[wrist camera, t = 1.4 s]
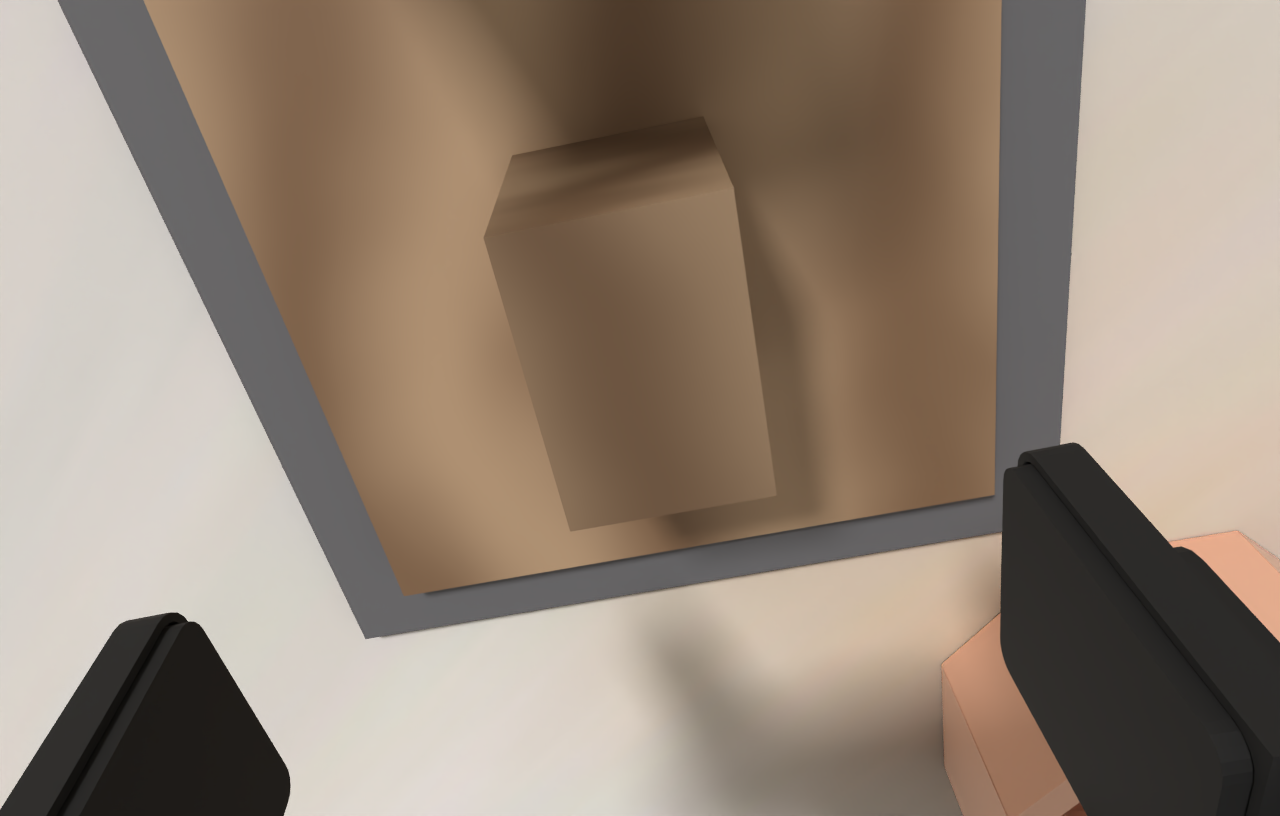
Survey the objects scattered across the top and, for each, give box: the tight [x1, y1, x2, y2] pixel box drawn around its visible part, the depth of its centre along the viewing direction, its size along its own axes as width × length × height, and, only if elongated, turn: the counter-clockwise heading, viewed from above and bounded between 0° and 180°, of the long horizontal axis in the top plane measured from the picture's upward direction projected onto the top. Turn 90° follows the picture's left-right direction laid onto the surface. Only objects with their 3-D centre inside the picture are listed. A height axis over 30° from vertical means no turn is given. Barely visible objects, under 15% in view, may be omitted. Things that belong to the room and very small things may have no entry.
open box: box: [941, 531, 1280, 816], centre depth 27 cm, size 12×12×6 cm
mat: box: [58, 0, 1086, 639], centre depth 21 cm, size 20×20×1 cm
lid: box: [144, 0, 1002, 596], centre depth 18 cm, size 16×16×6 cm
